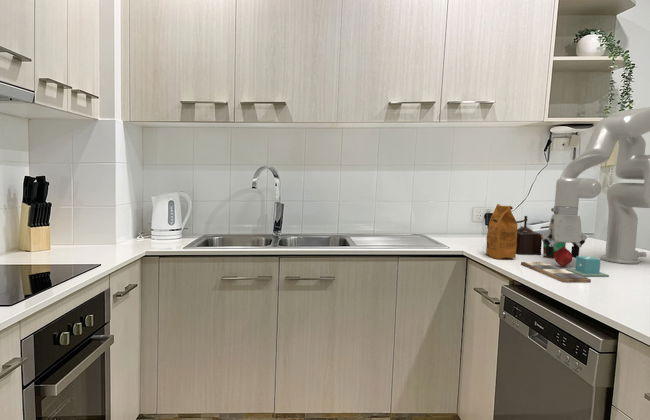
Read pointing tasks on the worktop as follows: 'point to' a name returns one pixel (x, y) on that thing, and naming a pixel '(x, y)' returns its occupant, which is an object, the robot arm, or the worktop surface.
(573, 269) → the mat
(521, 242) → the manual coffee grinder
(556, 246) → the food container
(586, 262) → the die
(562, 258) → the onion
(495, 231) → the coffee package
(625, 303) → the worktop surface
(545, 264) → the board
